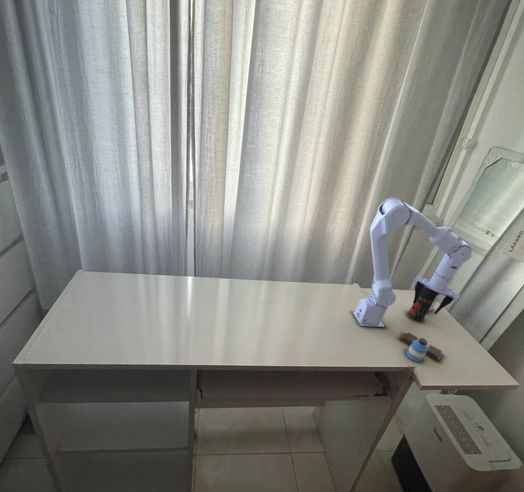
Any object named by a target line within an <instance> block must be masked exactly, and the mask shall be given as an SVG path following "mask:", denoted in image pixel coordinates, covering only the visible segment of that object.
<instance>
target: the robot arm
mask: <svg viewBox="0 0 524 492" xmlns="http://www.w3.org/2000/svg"><path fill="white" fill-rule="evenodd" d="M404 225H406V226H411V225H414V226H416V227H417V228H419V229H420V230H422V231H423V232H424V233H425V234H427V235H428V236H429V242H430V243H432V244H433V245H434V246H435V247H437V248H438V249H439V250H441V252H444V253H445V254H444V255H443V257H442V259H441V260H440V262H439V264H438V266H437V267H436V269H435V272H433V275H432V277H431V278H430V279H427V278H424V277H421V276H419V275H417V276H416V277H415V279H414V281H413V283H415V285H414V299H413V302H412V304H413V303H414V304H415V303H416V302H417V300H418V298H419V296H420V294H421V292H422V291H423V289H424V287H427V288H429V289H431V290H434V291H436V292H438V293H440V294H441V296H444V297H443V299H442V301H441V302H440V303H439V306H438V307H437V308H436V310H435V311H434V313H433V315H437V314H438V313H439V312H440V311H441V310H442V309H443V308H445V307H447V306H448V305H450V304H451V303H452V302H455V303H456V302H457V301H458V300H459V298H460V297H461V295H460V294H458V293H456V292H454V291H453V290H452V289H450V288H449V286H450V284H451V283H452V281H453V279H454V278H455V276H456V274H457V273H458V271H459V270H460V268H461V267H462V266H463V265H464V264H465V262H467V261H469V260H470V259H471V258H472V257H473V256H472V252H473V250H472V247H471V246H470V245H469V244H467V243H466V241H464V238H462V237H461V236H457V235H456V234H455V233H454V232H453V229H452V228H451V227H449V226H448V227H446V226H437V225H435V224H434V223H433V222H432V221H431V220H430V219H428V218H427V217H426V216H425V215H424V214H422V213H421V212H420V211H419V210H417V208H415V207H413V206H411V205H410V204H409V203H407V202H405V201H403V202H402V201H401V199H400V198H398V197H395V196H392V197H388V198H386V199H385V200H384V201H383V202H382V203H381V204H380V205H379V206H378V207H377V212H376V214H375V216H374V219H373V221H372V222H371V224H370V227H369V237H370V245H371V255H372V257H371V258H372V265H373V277H372V278H373V281H372V283H371V293H370V294H369V296H368V297H365V298H361V299H359V302H358V303H357V306H356V308H355V309H354V311H353V312H352V314H353V316H354V317H355V319H356V321H357V322H358V323H359V325H360V327H373V328H377V327H378V328H384V327H385V324H384V323H383V321H382V320H383V318H384V316H385V314H386V312H387V310H388V308H389V307H390V306H392V305H393V304H394V303H395V301H396V299H397V296H396V294H395V292H394V291H393V285H392V281H391V275H390V260H389V248H388V247H389V246H388V245H389V244H388V235H389V234H390V233H391V232H393V231H395V230H397V229H399V228H400V227H402V226H404Z"/></svg>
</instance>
